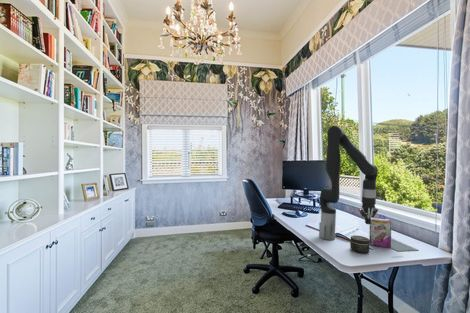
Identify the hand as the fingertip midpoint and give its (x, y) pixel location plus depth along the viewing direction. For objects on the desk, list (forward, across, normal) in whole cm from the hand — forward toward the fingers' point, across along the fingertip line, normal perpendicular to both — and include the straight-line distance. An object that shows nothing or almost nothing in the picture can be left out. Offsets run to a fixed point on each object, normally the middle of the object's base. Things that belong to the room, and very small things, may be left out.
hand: (367, 223), depth 145 cm
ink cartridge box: (+15, +25, +14) cm, 32 cm away
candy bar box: (+14, +8, -2) cm, 16 cm away
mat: (+14, +19, -2) cm, 24 cm away
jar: (+14, -11, -7) cm, 19 cm away
